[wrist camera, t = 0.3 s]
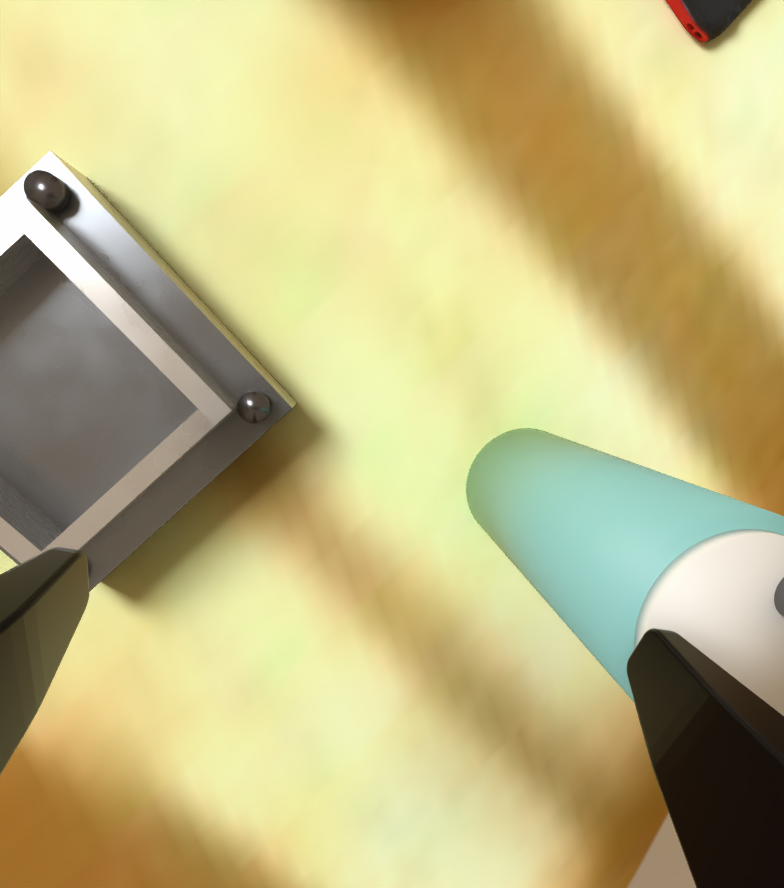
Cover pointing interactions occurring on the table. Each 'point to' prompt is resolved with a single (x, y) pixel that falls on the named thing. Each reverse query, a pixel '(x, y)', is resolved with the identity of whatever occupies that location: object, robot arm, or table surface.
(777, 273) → the table surface
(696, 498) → the spout can
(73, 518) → the grey square metal tray
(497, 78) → the table surface
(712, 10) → the game console
